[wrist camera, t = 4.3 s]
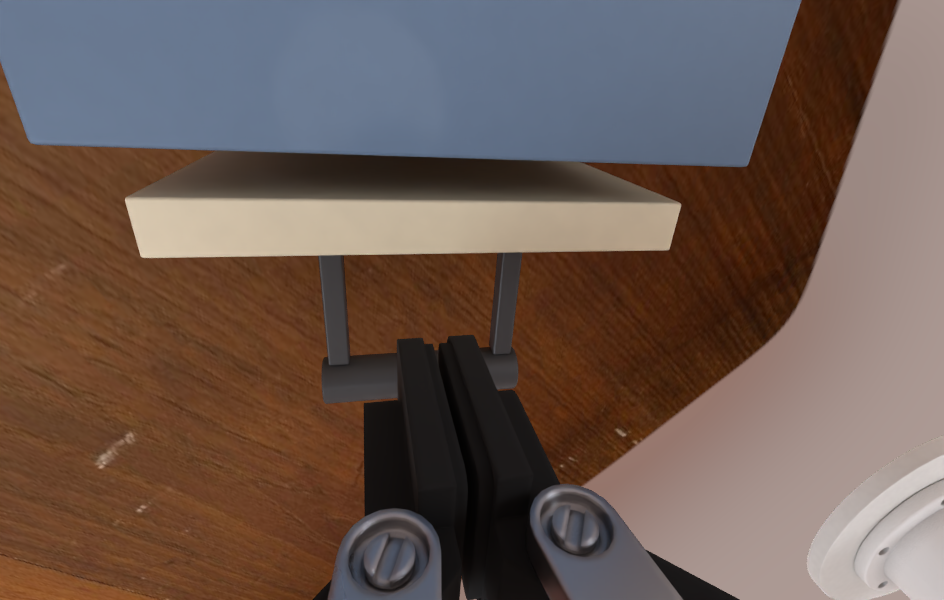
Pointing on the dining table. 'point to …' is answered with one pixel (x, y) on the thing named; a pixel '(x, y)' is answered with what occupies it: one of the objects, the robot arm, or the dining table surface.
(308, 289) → the dining table surface
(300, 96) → the cabinet
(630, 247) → the drawer
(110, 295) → the dining table surface
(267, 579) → the dining table surface
